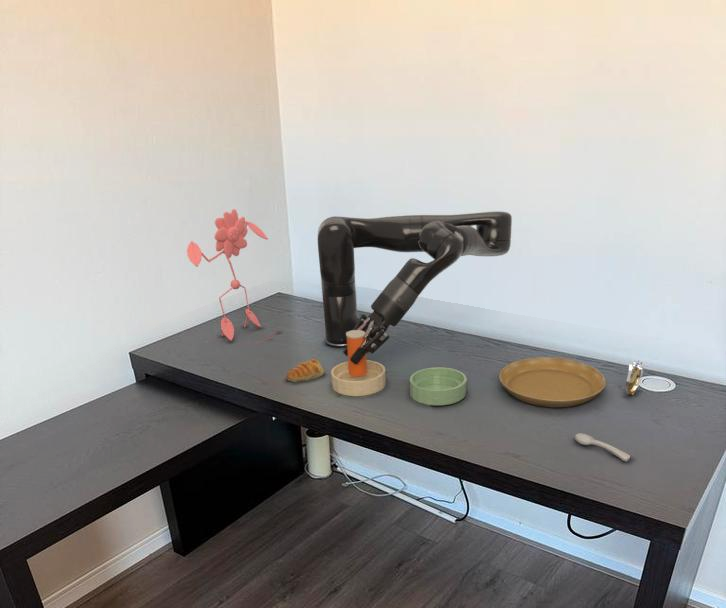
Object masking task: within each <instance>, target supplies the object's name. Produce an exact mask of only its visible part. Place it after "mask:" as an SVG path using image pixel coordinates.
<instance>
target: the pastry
mask: <svg viewBox="0 0 726 608" xmlns="http://www.w3.org/2000/svg"><path fill="white" fill-rule="evenodd" d="M323 375H325V370H324V368H323V366H322V365H321V362H320V361H319V360H317V359H313V358H312V359H310V360H307V361H304V362H299V363H297V365H296V366H294V367H293V368H291V369H290V370H289V371H288V372H287V373H286V380H287V381H289V382H293V383H298V382H304V381H305V382H306V381H310V380H312V379H316V378H319V377H321V376H323Z"/></svg>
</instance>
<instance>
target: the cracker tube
mask: <svg viewBox="0 0 726 608" xmlns="http://www.w3.org/2000/svg"><path fill="white" fill-rule="evenodd" d="M364 334H365V332H364V331H362V330H352V331H349V332H347V333H346V336H347V351H348V356H347V361H348V367H349V374H350V375H352V376H363V375H365V374H366V373H367V364H366V360H367V353H366V354H365V355H364V357H363V358H362V359H361V360H360V362H359V363H358V364H354V363H353V362H352V361H351V360H350V357H351V356H352V355H353V354H354V352H355V351H356V350H357V349H358V348H359V347H360V345H361V343H362V341H363V340H364V338H363V337H364Z"/></svg>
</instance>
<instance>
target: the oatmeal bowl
mask: <svg viewBox="0 0 726 608" xmlns="http://www.w3.org/2000/svg"><path fill="white" fill-rule="evenodd" d="M366 364H367V373H366V374H365V375H363V376H352V375H350V374H349V367H348V360H347V361H344V362H341V363H338V364H336V365H335V366H333V368H331V371H330V378H331V388H332V390H333V392H336V393H337V394H340V395H342V396H349V397H364V396H370V395H373V394H377V393H379V392H380V391H382V390H383V389H385V387H386V385H387V379H386V378H387V377H386V376H387V375H386V367H385V366H384V364H382V363H380V362H378V361H374V360H369V359H366Z"/></svg>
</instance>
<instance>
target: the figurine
mask: <svg viewBox="0 0 726 608" xmlns="http://www.w3.org/2000/svg"><path fill="white" fill-rule="evenodd" d="M214 225H215V227H216V228H217V230H216V232H215V234H214V240H216V241H215V251H216V252H219V253H217V254H215V255H214V256H213V257H210V258H208V257H207V256H206V255H205V254H204V253H203V251H202V249H201V247H200V246H199V245H198V243H196V242H194V241H193V240H191V241H190V243H189V244H187V249H186V255H187V257H188V259H189V261H190V262H191V263H192V265H194V266H195V267H196V268H197V267H199V265H200V263H201V261H202V258H204V260H205V261H206V262H208V263H211V262H212V261H213V260H215V259H217V258H218V257H220V256H221V255H222V254H224V255H225V258H226V259H227V262H228V264H229V267H230V270H231V273H232V276H233V279H232V280H231V281H230V288H229V289H227V291H225V292H224V293H223V294H221V295H220V296H219V298H218V300H219V304H220V307H221V312H222V314H223V318H222V319H221V320H220V329H221V337H222V338H223V337H224V336H225V337H226V338H227V339H228V341H230V342H232V341H233V339H234V335H235V327H234V325H233V323H232V321H231V320H230V319H229V318H227V317H226V314H225V310H224V307H223V303H222V299H221V298H222V297H224V296H225V295H226V294H228V293H229V292H230V291H232V290H238V289H239V288H240V287H241V288H243V289H244V293H245V300H246V305H247V308H246V309H245V313H246V318H245V321H244V325H243V326H244V328H247V324H248V320H250V321H251V322H252V324H253V325H255V326H257V327H258V328H261V326H262V325H261V324H260V321H259V319H258V317H257V316H256V314H254V312H253V311H251V310H250V306H249V305H250V304H249V300H248V294H247V287H245V286H243V285H242V284H241V282H240V280H238V279H237V278H236V274H235V271H234V267H233V264H232V262H231V260H230V259H231V257H232V256H234V257H238V256H239V255H240V251H241V249H245V248H246V247H247V246H248V242H247V239H246V238H245V237H246V236H247V234H248V228H249V229H250V230H251V231H252V233H254V234H255V235H257V237H259V238H260V239H261V238H262V239H264V240H269V238H268V237H267V235H266V234H265V232H263V230H262V229H261V228H260V227H259V226H258V225H256V224H254V223H253V222H251V221H247V220H246V217H244V216H241V217H240V218H239V214H238V212H237V210H236V209H235V208H233V209H232V210H231V211H230V212H229V211H224V212H223V217H218V218H216V219H215V220H214ZM277 328H278V329H277V332H275V333H274V334H272V335H271V336H269V337H267V338H266V339H263V340H259V341H256V342H252V343H251V345H253V344H258V343H261V342H265V341H266V340H270V339H271V338H272V337H274V336H275V335H276V334H277V333H280V331H279V327H277ZM205 342H206V343H208V341H206V340H205Z"/></svg>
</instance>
